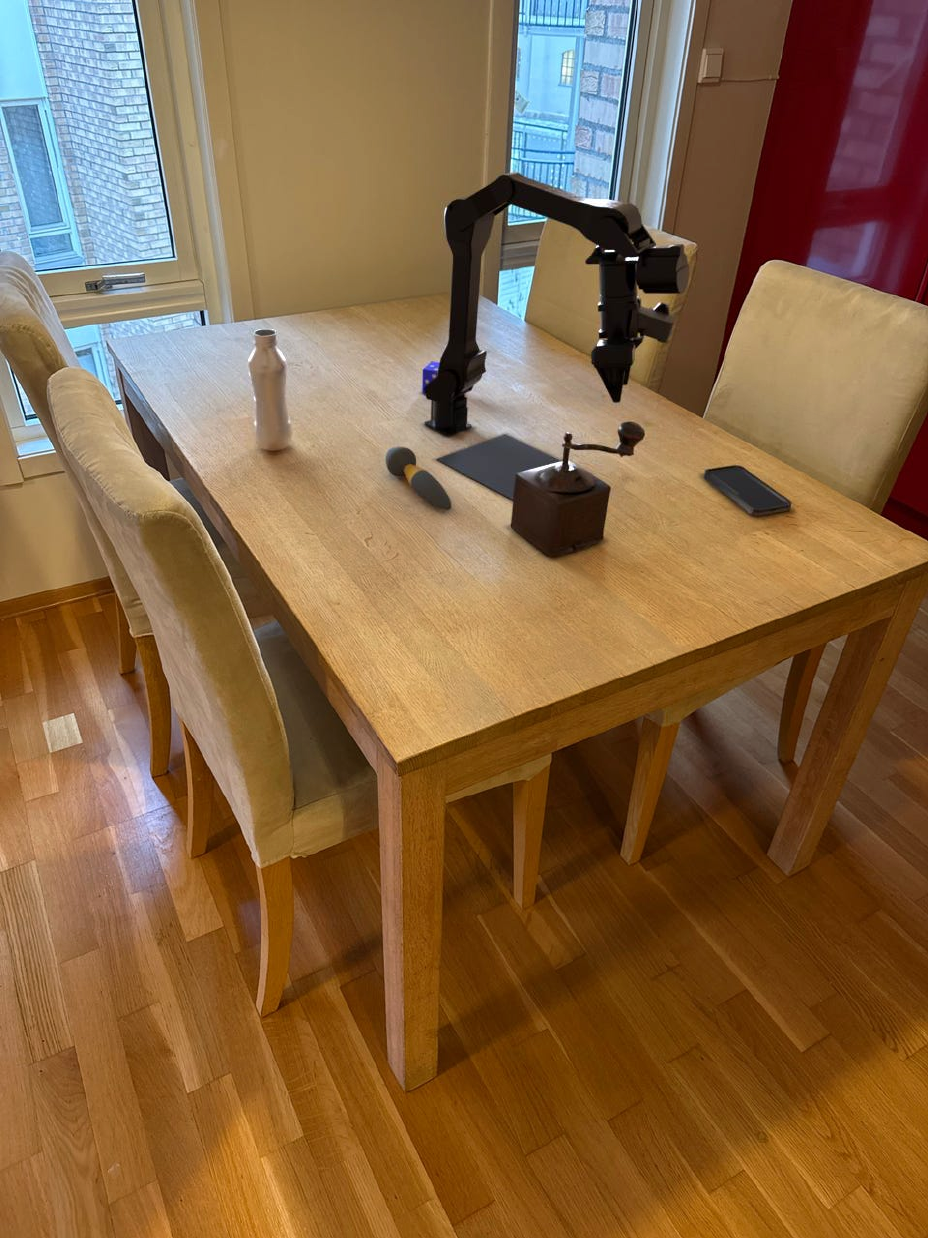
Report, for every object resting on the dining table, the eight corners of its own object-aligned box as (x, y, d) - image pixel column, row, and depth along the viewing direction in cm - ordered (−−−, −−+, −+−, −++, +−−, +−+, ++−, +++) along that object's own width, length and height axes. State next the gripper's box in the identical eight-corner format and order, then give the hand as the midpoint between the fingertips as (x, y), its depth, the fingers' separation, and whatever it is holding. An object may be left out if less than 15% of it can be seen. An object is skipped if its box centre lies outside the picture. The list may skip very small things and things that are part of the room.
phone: (739, 464, 157) (794, 503, 146) (738, 470, 157) (792, 510, 146) (701, 469, 154) (754, 510, 143) (700, 475, 155) (753, 517, 144)
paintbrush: (468, 508, 142) (470, 479, 139) (443, 517, 139) (444, 488, 136) (397, 461, 154) (397, 434, 151) (373, 468, 151) (372, 441, 149)
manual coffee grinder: (552, 561, 130) (567, 447, 120) (508, 527, 137) (518, 417, 127) (632, 535, 137) (652, 425, 127) (586, 504, 145) (601, 398, 134)
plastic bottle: (300, 442, 158) (292, 329, 146) (281, 458, 153) (272, 341, 141) (267, 435, 160) (257, 323, 148) (247, 450, 154) (236, 335, 143)
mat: (435, 459, 155) (435, 458, 155) (505, 434, 165) (505, 433, 165) (518, 504, 144) (519, 503, 144) (587, 474, 154) (588, 473, 153)
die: (445, 397, 178) (446, 373, 175) (421, 393, 179) (422, 369, 176) (453, 388, 182) (454, 364, 179) (430, 384, 183) (431, 360, 180)
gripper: (666, 304, 128) (665, 411, 136) (677, 277, 143) (676, 374, 151) (588, 308, 131) (592, 412, 139) (607, 281, 147) (609, 376, 154)
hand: (620, 393), depth 146 cm, fingers open, 9 cm apart
